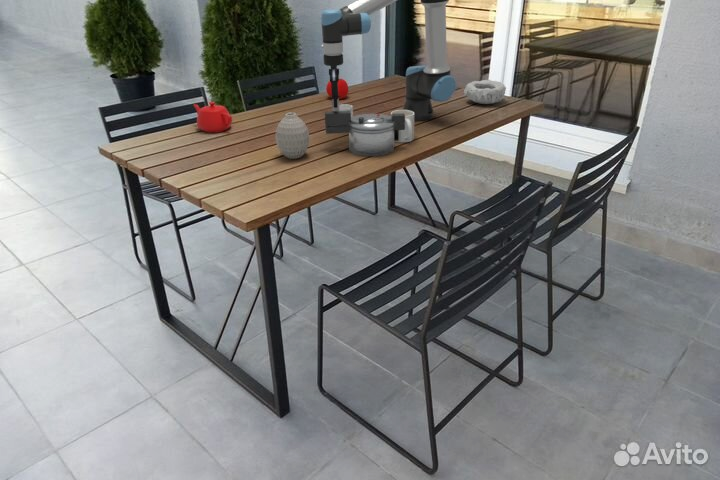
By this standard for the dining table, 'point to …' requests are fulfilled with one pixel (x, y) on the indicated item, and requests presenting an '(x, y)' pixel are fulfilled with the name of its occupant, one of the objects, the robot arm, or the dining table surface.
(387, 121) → the lid
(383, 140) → the pot
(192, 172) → the dining table surface
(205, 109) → the teapot
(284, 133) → the vase
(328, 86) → the tomato
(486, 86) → the bowl
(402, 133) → the mug
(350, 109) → the cup
